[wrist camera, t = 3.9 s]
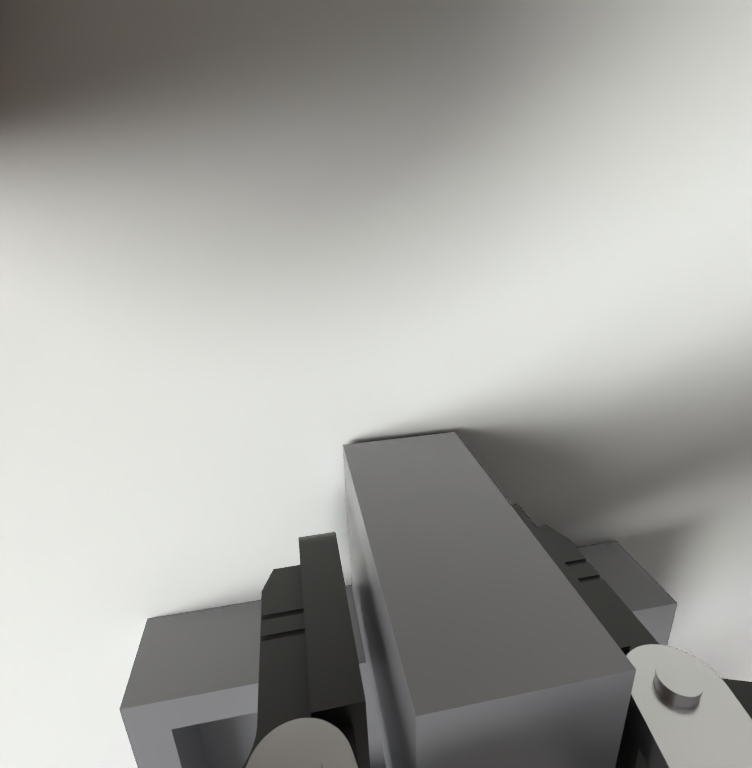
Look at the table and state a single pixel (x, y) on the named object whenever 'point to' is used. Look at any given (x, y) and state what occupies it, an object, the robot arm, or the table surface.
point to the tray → (420, 634)
